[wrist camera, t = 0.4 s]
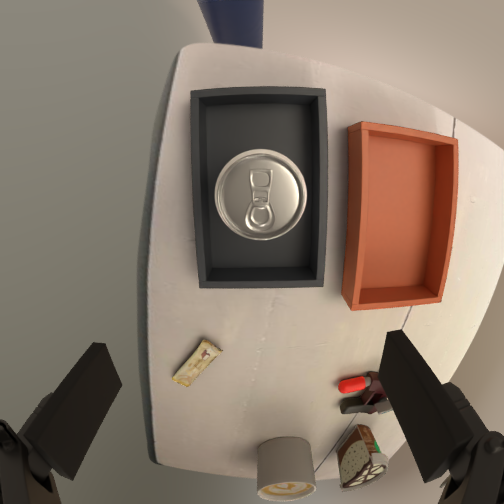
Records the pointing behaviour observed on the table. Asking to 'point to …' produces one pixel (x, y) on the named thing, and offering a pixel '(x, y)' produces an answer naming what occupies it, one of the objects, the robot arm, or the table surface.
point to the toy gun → (364, 395)
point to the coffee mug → (285, 469)
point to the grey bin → (250, 138)
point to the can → (260, 194)
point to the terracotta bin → (398, 216)
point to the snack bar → (196, 363)
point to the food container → (360, 460)
